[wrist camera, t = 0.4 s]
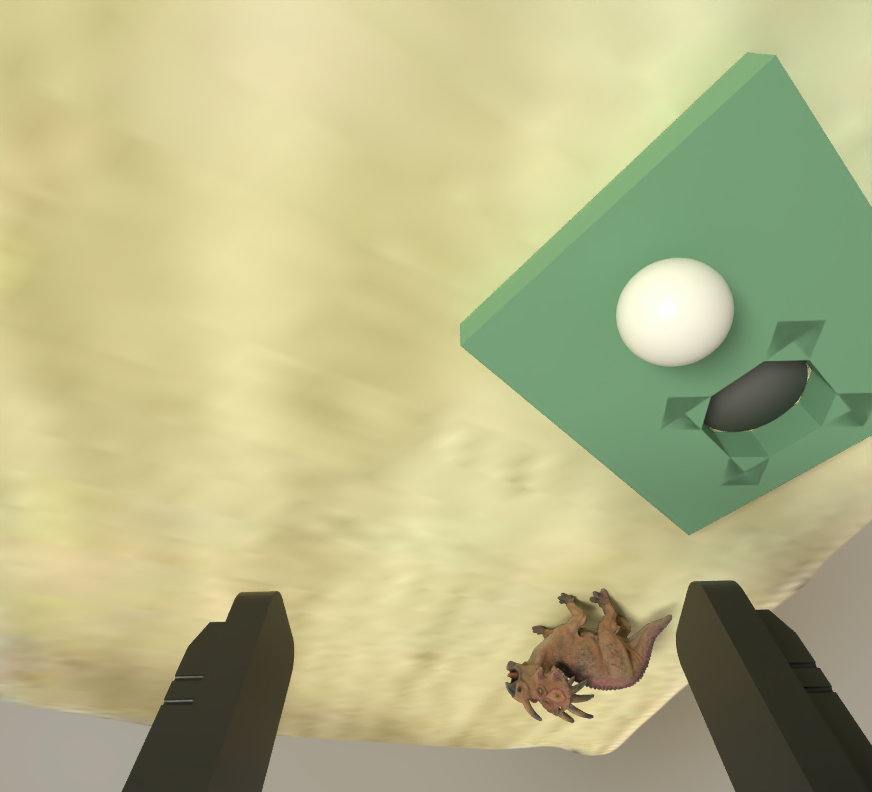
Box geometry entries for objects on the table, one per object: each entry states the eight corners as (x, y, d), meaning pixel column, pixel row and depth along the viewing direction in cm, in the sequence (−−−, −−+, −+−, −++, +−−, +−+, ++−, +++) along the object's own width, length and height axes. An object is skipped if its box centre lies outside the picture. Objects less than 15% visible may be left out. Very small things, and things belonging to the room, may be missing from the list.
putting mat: (747, 52, 23) (775, 55, 21) (943, 353, 31) (978, 376, 29) (460, 324, 31) (460, 345, 29) (676, 508, 39) (688, 535, 37)
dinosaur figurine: (505, 634, 49) (514, 746, 41) (498, 596, 46) (507, 710, 38) (658, 623, 47) (697, 737, 40) (662, 583, 44) (706, 698, 36)
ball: (670, 220, 25) (713, 258, 21) (727, 288, 27) (777, 336, 22) (584, 293, 27) (608, 341, 23) (643, 351, 29) (675, 406, 25)
